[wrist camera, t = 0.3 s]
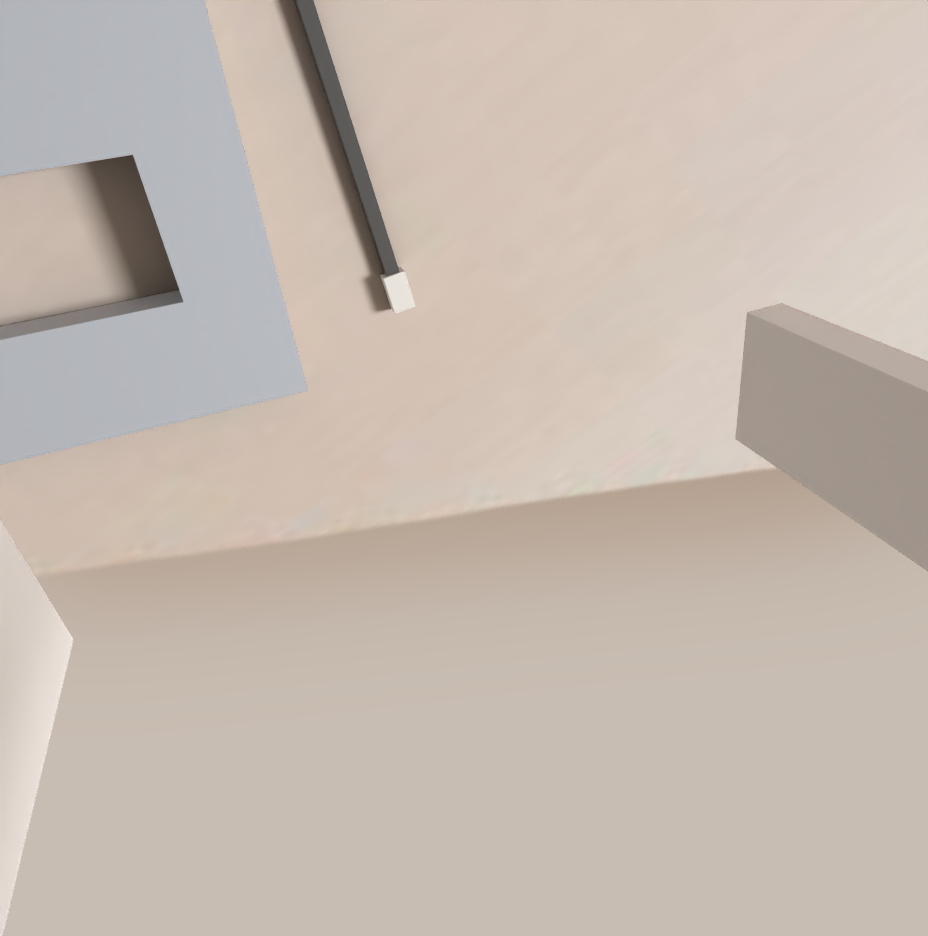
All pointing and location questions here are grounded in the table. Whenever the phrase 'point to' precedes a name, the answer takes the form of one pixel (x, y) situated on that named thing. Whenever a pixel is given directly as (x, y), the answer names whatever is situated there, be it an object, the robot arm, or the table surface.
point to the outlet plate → (176, 214)
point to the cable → (355, 158)
